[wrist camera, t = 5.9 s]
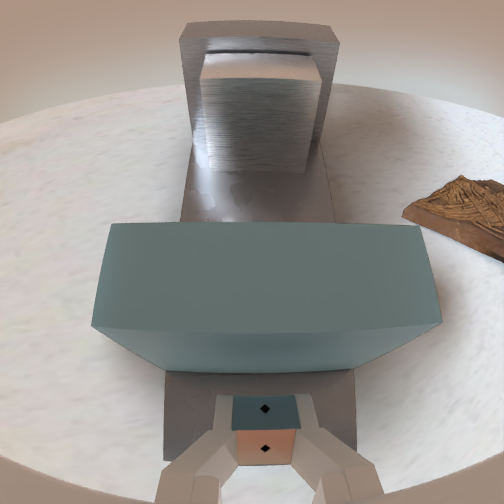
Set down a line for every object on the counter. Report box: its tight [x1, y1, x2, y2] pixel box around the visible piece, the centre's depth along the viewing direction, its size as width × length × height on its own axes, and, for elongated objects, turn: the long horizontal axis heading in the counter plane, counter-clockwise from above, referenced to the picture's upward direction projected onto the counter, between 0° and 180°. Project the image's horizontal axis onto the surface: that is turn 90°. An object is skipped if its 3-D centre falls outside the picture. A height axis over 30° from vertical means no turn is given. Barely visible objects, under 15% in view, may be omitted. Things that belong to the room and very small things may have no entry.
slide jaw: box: [91, 222, 442, 373], centre depth 11 cm, size 3×9×8 cm, turn 90°
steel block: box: [200, 53, 322, 173], centre depth 18 cm, size 3×6×7 cm, turn 90°
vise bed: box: [163, 20, 357, 466], centre depth 15 cm, size 24×9×10 cm, turn 0°
